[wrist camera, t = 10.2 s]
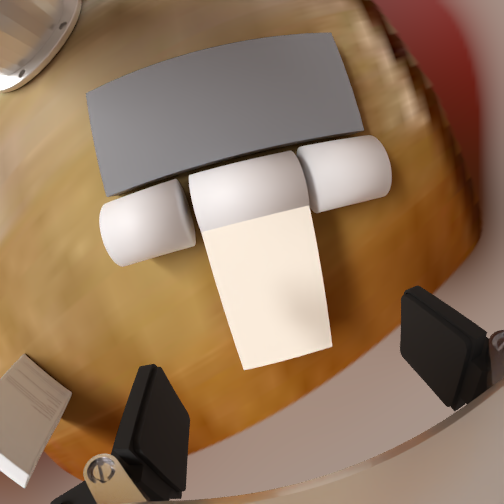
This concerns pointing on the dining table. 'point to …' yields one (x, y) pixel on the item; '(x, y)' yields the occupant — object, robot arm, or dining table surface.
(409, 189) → the dining table surface
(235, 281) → the cream hinge flap
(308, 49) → the fixed leaf
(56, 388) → the supplement box
